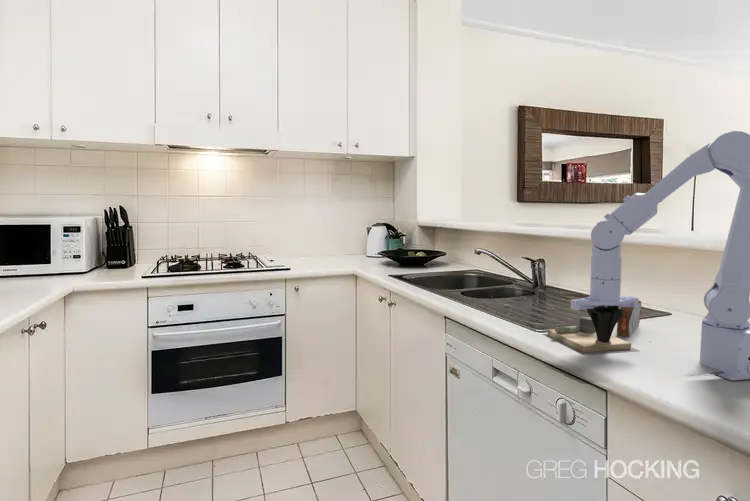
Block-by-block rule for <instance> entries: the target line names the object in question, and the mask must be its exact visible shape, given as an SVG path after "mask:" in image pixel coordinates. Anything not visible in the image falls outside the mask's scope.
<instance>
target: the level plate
mask: <svg viewBox="0 0 750 501" xmlns="http://www.w3.org/2000/svg"><path fill="white" fill-rule="evenodd" d="M578 319H579V321H578V322H579V323H578V325H571V326H556V327H555V328H551V329H549V328H548V329H547V334H548V335H550V336H552V337H554V338H556V339H558V340H560V341H562V342H564V343H566V344H568V345H570V346H572V347H574V348H576V349H578V350H580V351H582V352H594V351H608V350H622V349H631V347H632V343H631V342H630V341H627V340H625V339H621V338H619V337H616V336H614V335H611V338H610V341H609V342H606V343H603V342H601V341H598V340H597V335H596V331H595V327H594V324H593V322H592V319H591V317H590V316H579V318H578Z"/></svg>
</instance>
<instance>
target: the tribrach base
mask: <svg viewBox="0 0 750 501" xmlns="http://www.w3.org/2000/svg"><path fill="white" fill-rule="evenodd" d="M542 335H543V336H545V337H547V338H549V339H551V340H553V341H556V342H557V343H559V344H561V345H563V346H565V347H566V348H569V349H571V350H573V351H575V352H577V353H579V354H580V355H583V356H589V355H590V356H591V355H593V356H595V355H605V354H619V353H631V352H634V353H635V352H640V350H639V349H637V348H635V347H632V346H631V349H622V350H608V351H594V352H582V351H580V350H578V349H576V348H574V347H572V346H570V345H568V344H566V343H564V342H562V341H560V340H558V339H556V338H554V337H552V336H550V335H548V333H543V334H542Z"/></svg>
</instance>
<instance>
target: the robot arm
mask: <svg viewBox="0 0 750 501" xmlns="http://www.w3.org/2000/svg"><path fill="white" fill-rule="evenodd" d="M715 170H717V171H719V172H721V173H724V174H725V175H727V176H728V177H729V178H730V179H731V180H732V182H734V183H735V184H736V185H737V186H738V187H739V193H738V197H737V199H736V203H735V208H734V212H733V216H732V219H731V224H730V228H729V230H728V234H727V239H726V241H725V242H726V243H725V247H724V251H723V255H722V258H721V261H720V266H719V269H718V271H717V274H716V276H715V278H714V282H713V284H712V286H711V287H710V288H709V289H708V290H707V291H706V293H705V294H704V297H703V303H704V307H705V308H706V310H707V312H708V313H707V314H706V315H705V316H704V317H702V318H701V331H700V332H701V333H700V352H699V362H700V364H701V365H703V366H706V367H708V368H711V369H714V370H719V371H714V372H712V371H711V372H710V373H711V374H713V375H717V376H719V377H721V378H724V379H726V380H728V381H742V380H743V381H744V380H750V322H749V319H750V134H749V133H748V132H745V131H742V130H729V131H727V132H724V133H722V134H720V135H719V136H718V137H717V138H716V139H715V140H714V141H713V142H712V143H708V144H706V145H704V146H703V147H701V148H700V149H698V150H697V151H695V152H693V153H692V154H690V155H689V156H687V157H686V158H685V159H684V160H682V162H680V163H679V164H678V165H677V166H676V167H674V169H672V170H671V171H670V172H669V173H668V174H666V175H665V176H664V177H663V178H662V179H661V180H659V182H658V181H657V182H658V183H656V184H655V185H654V186H653V187H652V188H650V189H648V191H647V192H645V193H644V192H642V193H641V192H636V193H633V194H632V195H631V196H630V195H626V196H625V197H624V198H623V199H622V200H623V201H624V202H623V203H622V204H620V205H619V206H618V207H617V208H615V209H613V211H612V212H611V213H608V212H607V213H606V214H605V215H603V217H604V219H605V220H602V221H599V222H597V223H596V224H595V226H593V228H592V230H591V232H590V239H591V242H592V244H593V245H592V248H591V253H592V255H591V257H590V285H589V286H590V288H589V296H588V297H587V296H586V297H582V298H581V297H579V298H576V299H575V298H574V299H570V309H571V310H575V311H581V310H586V312H587V314H588V316H589V317H591V319H592V322H593V324H594V327H595V331H596V335H597V340H598V341H601V342H603V343H606V342H609V341H610V338H611V336H613V335H612V334H613V331H614V329H615V327H616V326H617V322H618V320H619V319H620V317H621V316H622V314H623V310H620V308H621V307H638V300H639V297H635V296H621V286H622V285H621V283H622V262H623V261H622V260H623V258H622V256H621V253H622V252H621V249H622V245H621V243H622V242H623V240H624V238H625V236H628V235H629V236H631V235H632V234H634V232H636V231H637V230H638V229H640V228H641V227H642V226H644V225H645V224H647V223H648V221H650V220H651V219H653V218H654V217H655V216H656V215H657V214H658V207H659V204H660V203H661V202H663V201H664V200H665V199H666V198H667V197H669V196H670V195H671V194H672V193H673V194H674V192H676V191H677V190H678V189H679V188H681V187H682V186H684V185H685V184H686V183H687V182H689V181H690V180H691V179H693V178H694V177H696V176H700V175H703V174H707V173H711V172H713V171H715Z"/></svg>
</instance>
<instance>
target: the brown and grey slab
mask: <svg viewBox="0 0 750 501" xmlns="http://www.w3.org/2000/svg"><path fill="white" fill-rule="evenodd" d="M619 309H620V310H623V314H622V316H621V317H620V319H619V320H618V321H617V323H616V335H617V336H621V337H627V338H629V337H630V336H631V335H632V333H634V331H635V330H636V329H637V328H639V326H640V317H641V309H642V301H641V300H639V299H638V307H619Z"/></svg>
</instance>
